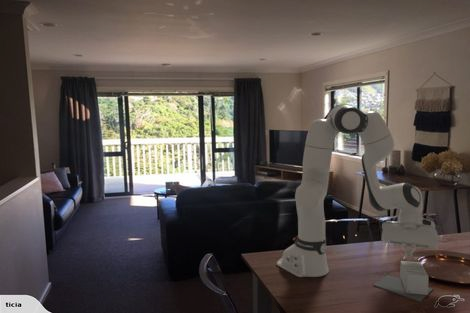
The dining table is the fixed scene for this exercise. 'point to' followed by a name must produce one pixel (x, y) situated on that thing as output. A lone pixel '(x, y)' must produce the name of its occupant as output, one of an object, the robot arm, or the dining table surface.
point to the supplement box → (414, 278)
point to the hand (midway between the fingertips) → (408, 255)
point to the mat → (398, 287)
